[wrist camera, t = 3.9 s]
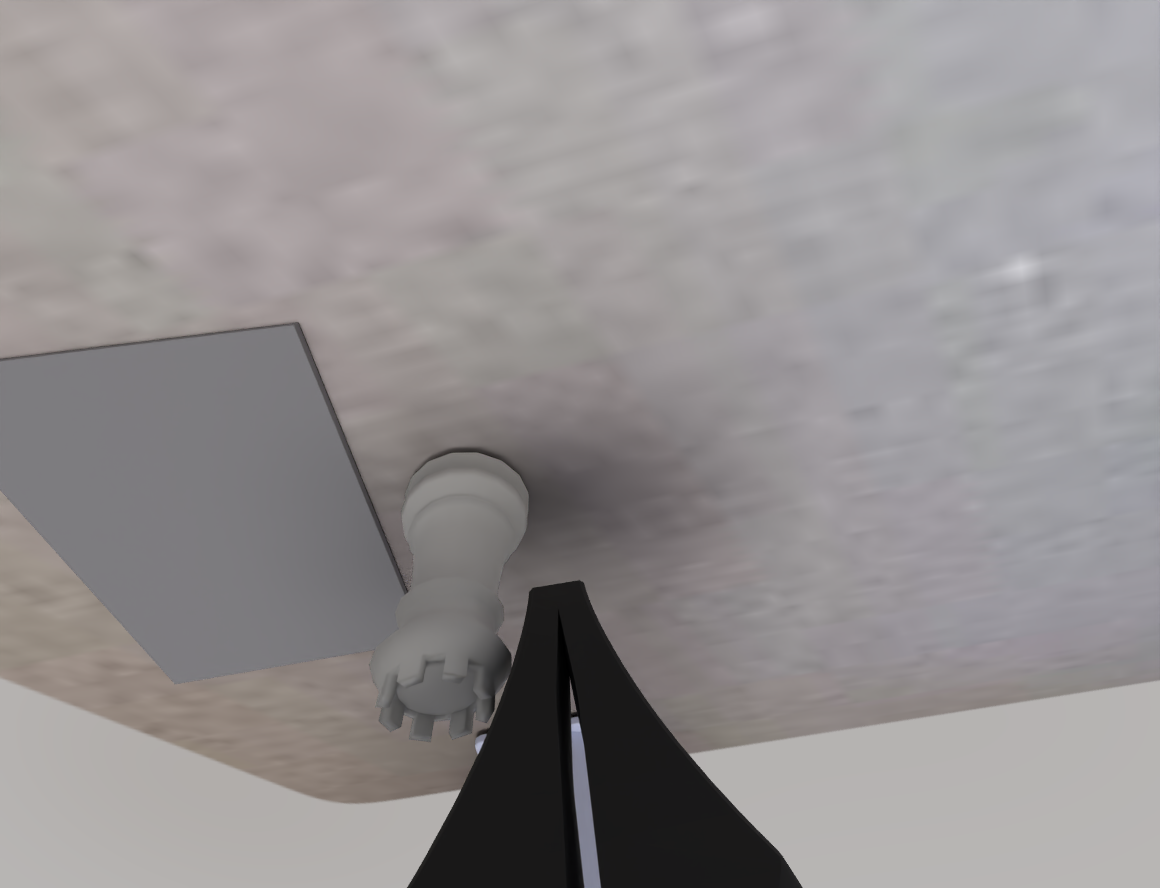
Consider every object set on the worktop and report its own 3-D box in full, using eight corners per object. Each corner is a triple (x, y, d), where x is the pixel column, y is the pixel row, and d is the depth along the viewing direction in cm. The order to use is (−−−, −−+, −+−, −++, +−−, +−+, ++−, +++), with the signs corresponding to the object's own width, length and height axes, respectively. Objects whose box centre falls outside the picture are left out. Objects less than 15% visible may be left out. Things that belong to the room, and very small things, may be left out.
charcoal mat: (424, 635, 20) (423, 641, 20) (179, 677, 19) (175, 684, 19) (297, 322, 13) (293, 325, 13) (-92, 370, 12) (-105, 374, 12)
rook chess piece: (445, 422, 15) (386, 611, 8) (552, 481, 17) (578, 679, 10) (385, 512, 16) (290, 739, 10) (489, 558, 18) (472, 779, 11)
